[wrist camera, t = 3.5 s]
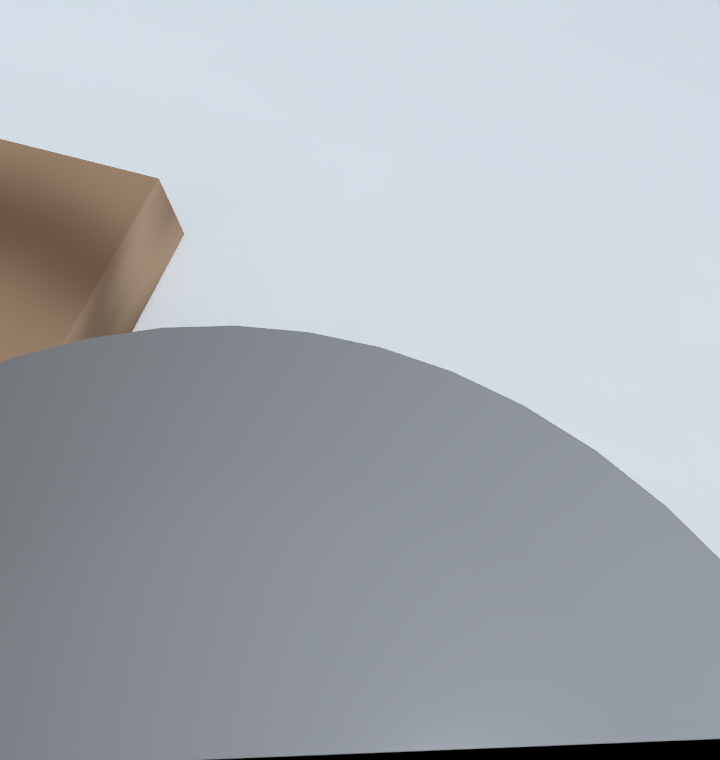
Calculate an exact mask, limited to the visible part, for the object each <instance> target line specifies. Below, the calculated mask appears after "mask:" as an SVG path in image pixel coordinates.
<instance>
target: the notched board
mask: <svg viewBox="0 0 720 760" xmlns="http://www.w3.org/2000/svg"><path fill="white" fill-rule="evenodd" d="M183 235H184V233H183V230H182V228H181V226H180V224H179V222H178V220H177V217H176V215H175V213H174V211H173V209H172V207H171V204H170V202H169V200H168V198H167V196H166V194H165V191H164V189H163V187H162V185H161V183H160V181H159V179H158V178H154V177H150V176H146V175H142V174H138V173H134V172H130V171H126V170H122V169H118V168H114V167H110V166H106V165H102V164H98V163H94V162H90V161H86V160H82V159H78V158H74V157H70V156H66V155H62V154H58V153H54V152H50V151H46V150H42V149H38V148H34V147H30V146H26V145H22V144H18V143H14V142H10V141H6V140H2V139H0V362H3V361H5V360H8V359H11V358H14V357H17V356H21V355H25V354H29V353H33V352H37V351H41V350H45V349H49V348H53V347H57V346H61V345H65V344H69V343H73V342H76V341H80V340H84V339H88V338H95V337H102V336H109V335H116V334H123V333H130V332H132V330H133V328H134V327H135V325H136V323H137V321H138V319H139V317H140V315H141V313H142V312H143V310H144V308H145V306H146V304H147V302H148V300H149V298H150V297H151V295H152V293H153V291H154V289H155V287H156V285H157V283H158V282H159V280H160V278H161V276H162V274H163V272H164V270H165V268H166V266H167V265H168V263H169V261H170V259H171V257H172V255H173V253H174V251H175V250H176V248H177V246H178V244H179V242H180V240H181V238H182V236H183Z"/></svg>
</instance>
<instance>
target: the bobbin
mask: <svg viewBox="0 0 720 760" xmlns="http://www.w3.org/2000/svg"><path fill="white" fill-rule="evenodd" d="M0 760H720V559H719V558H718V557H717V556H716V555H715V554H714V553H713V552H712V551H711V550H710V549H709V548H708V547H707V546H706V545H705V544H704V543H703V542H702V541H701V540H700V539H699V538H698V537H697V536H696V535H695V534H694V533H693V532H692V531H691V530H690V529H689V528H688V527H687V526H686V525H685V524H684V523H683V522H682V521H680V520H679V519H678V518H677V517H676V516H675V515H674V514H673V513H672V512H671V511H670V510H669V509H668V508H667V507H666V506H665V505H664V504H662V503H661V502H660V501H659V500H657V499H656V498H655V497H653V496H652V495H651V494H650V493H648V492H647V491H646V490H645V489H643V488H642V487H641V486H640V485H638V484H637V483H636V482H635V481H633V480H632V479H631V478H629V477H628V476H627V475H626V474H624V473H623V472H622V471H621V470H619V469H618V468H617V467H616V466H614V465H613V464H612V463H611V462H609V461H608V460H607V459H605V458H604V457H603V456H602V455H600V454H599V453H598V452H597V451H595V450H594V449H592V448H591V447H589V446H587V445H586V444H584V443H583V442H581V441H579V440H578V439H576V438H575V437H573V436H571V435H570V434H568V433H567V432H565V431H563V430H562V429H560V428H559V427H557V426H555V425H554V424H552V423H551V422H549V421H547V420H546V419H544V418H543V417H541V416H539V415H538V414H536V413H535V412H533V411H531V410H530V409H528V408H527V407H525V406H523V405H521V404H519V403H517V402H515V401H513V400H511V399H508V398H506V397H504V396H502V395H500V394H498V393H496V392H494V391H492V390H489V389H487V388H485V387H483V386H481V385H479V384H477V383H475V382H473V381H471V380H468V379H466V378H464V377H462V376H460V375H458V374H456V373H454V372H451V371H448V370H445V369H442V368H439V367H437V366H434V365H431V364H428V363H425V362H422V361H419V360H416V359H413V358H410V357H407V356H404V355H401V354H398V353H395V352H392V351H389V350H386V349H383V348H380V347H375V346H371V345H366V344H361V343H356V342H352V341H347V340H342V339H337V338H333V337H328V336H323V335H318V334H314V333H309V332H298V331H287V330H276V329H265V328H254V327H242V326H215V327H178V328H159V329H152V330H144V331H137V332H130V333H123V334H116V335H109V336H102V337H95V338H88V339H84V340H80V341H76V342H73V343H69V344H65V345H61V346H57V347H53V348H49V349H45V350H41V351H37V352H33V353H29V354H25V355H21V356H17V357H14V358H11V359H8V360H5V361H3V362H0Z"/></svg>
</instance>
